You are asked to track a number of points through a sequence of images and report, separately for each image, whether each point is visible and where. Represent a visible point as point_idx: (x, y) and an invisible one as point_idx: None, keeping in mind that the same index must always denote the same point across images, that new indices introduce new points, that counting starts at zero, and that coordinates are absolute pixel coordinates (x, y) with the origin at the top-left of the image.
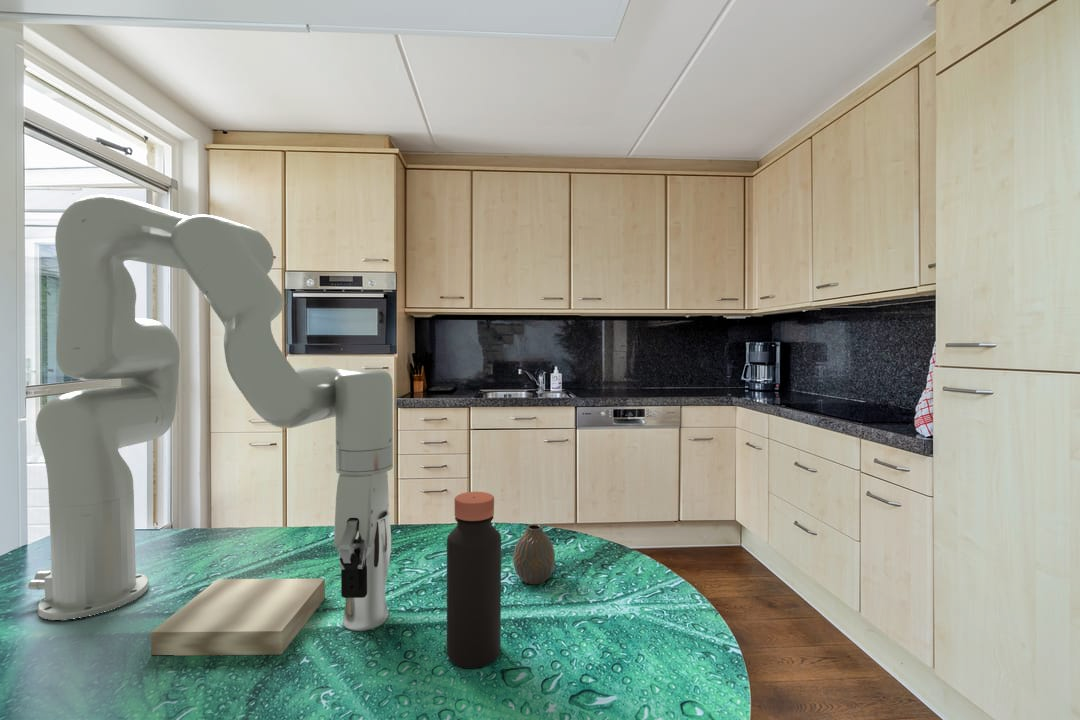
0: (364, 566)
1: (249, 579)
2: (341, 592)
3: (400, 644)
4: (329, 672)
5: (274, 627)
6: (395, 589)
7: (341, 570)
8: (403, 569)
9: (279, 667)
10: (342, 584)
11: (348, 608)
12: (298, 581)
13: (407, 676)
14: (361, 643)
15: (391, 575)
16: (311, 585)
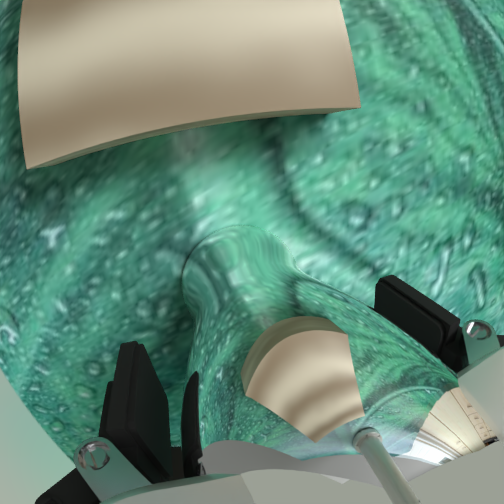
0: (161, 482)
1: None
2: (119, 351)
3: (164, 388)
4: (42, 309)
5: (38, 132)
6: (376, 276)
7: (108, 420)
8: (446, 248)
9: (20, 196)
10: (117, 375)
11: (199, 280)
12: (330, 32)
13: (94, 421)
14: (141, 322)
15: (428, 234)
16: (313, 82)
